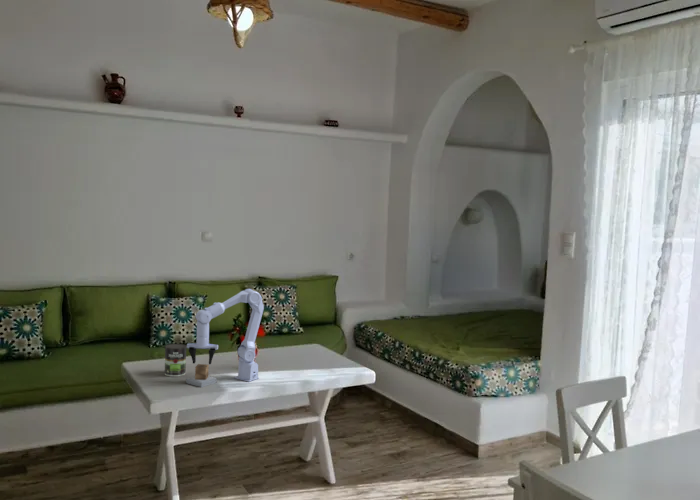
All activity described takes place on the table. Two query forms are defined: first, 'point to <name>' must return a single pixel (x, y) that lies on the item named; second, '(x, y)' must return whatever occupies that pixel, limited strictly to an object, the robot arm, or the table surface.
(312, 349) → the table surface
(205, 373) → the walnut block
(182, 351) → the coffee can
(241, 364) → the robot arm
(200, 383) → the pedestal
